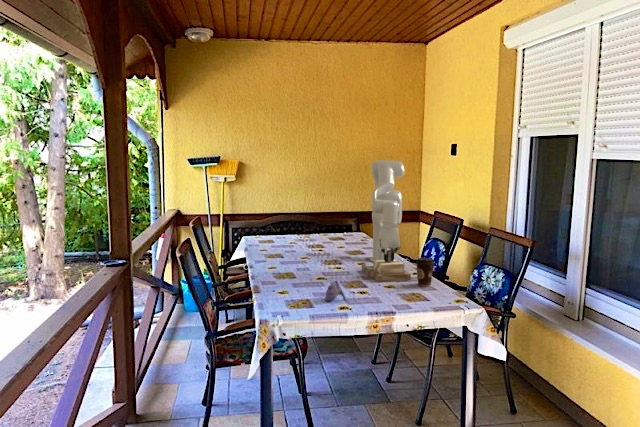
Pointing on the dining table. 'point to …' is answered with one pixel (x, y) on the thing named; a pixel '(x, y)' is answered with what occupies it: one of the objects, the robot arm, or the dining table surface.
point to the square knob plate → (388, 266)
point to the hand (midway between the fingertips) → (388, 260)
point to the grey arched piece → (334, 291)
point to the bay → (385, 275)
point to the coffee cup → (424, 271)
